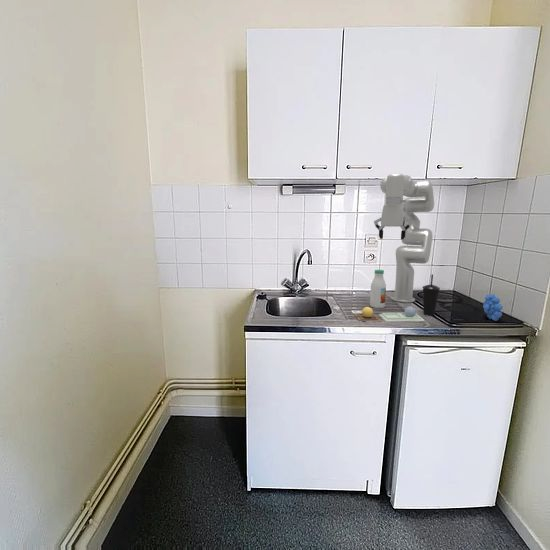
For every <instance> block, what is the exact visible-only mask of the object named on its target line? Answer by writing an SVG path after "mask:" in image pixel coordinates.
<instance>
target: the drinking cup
mask: <svg viewBox="0 0 550 550" xmlns="http://www.w3.org/2000/svg"><path fill="white" fill-rule="evenodd" d="M430 277H431V278H430V284H427V285H423V286H422V295H423V296H422V301H423V303H422V304H423V305H422V306H423V309H422V310H423V314H424V315H425V316H429V317H430V316H431V317H432V316H435V314H436V309H437V302H438V299H439V293H440V290H441V288H440V286H437V285H435V284H433V279H434V273H433V274H431V275H430Z"/></svg>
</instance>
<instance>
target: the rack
mask: <svg viewBox="0 0 550 550" xmlns="http://www.w3.org/2000/svg"><path fill="white" fill-rule="evenodd" d="M378 316H379V318H382V320H383V321H384V322H386V323H387V322H389V323H390V322H391V323H393V322H396V323H397V322H406V323H407V322H409V323H410V322H413V323H414V322H417V323H418V322H422V323H423V322H426V320H425V319H424V318H423V317H421V316H420V315H419V314H417V313H416V314H415V316H413V317H407V316H406V315H405V313H404V312H381V313H378Z"/></svg>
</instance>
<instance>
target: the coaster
mask: <svg viewBox="0 0 550 550" xmlns="http://www.w3.org/2000/svg"><path fill="white" fill-rule="evenodd" d="M353 315H354V316H355V318H356V319H357V320H358V322H359V321H378V323H381V322H382V320H381V319H380V317H378V316H377V314H375V313H373V315H372V316H371V317H365V316H363V314H353ZM379 321H380V322H379Z"/></svg>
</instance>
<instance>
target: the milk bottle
mask: <svg viewBox="0 0 550 550" xmlns="http://www.w3.org/2000/svg"><path fill="white" fill-rule="evenodd" d="M386 284H387V283H386V281H385V279H384V270H383V269H374V277H373V279H372V282H371V285H370V294H369V295H370V297H369V307H370V308H373V309H384V308H385V307H386V296H387V295H386V294H387V285H386Z"/></svg>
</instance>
